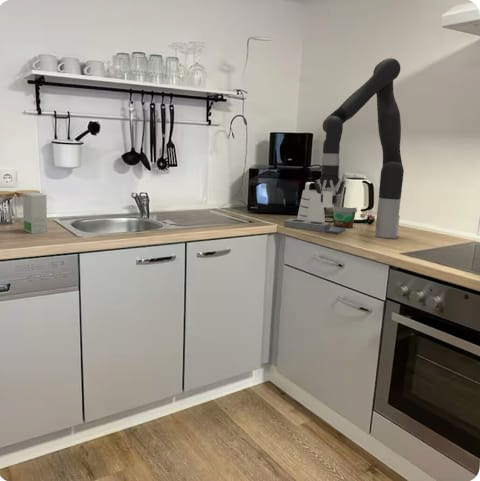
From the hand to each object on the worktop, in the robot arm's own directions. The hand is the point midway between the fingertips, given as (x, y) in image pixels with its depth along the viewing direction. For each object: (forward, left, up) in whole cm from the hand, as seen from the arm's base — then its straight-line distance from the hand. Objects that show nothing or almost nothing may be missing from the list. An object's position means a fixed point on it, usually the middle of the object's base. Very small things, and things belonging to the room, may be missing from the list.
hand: (328, 203), depth 199 cm
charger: (0, 0, -2) cm, 2 cm away
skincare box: (+100, +71, -14) cm, 124 cm away
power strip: (+12, -10, -14) cm, 21 cm away
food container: (-1, -24, -14) cm, 28 cm away
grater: (+18, -33, -14) cm, 40 cm away
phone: (-2, -10, -14) cm, 17 cm away
